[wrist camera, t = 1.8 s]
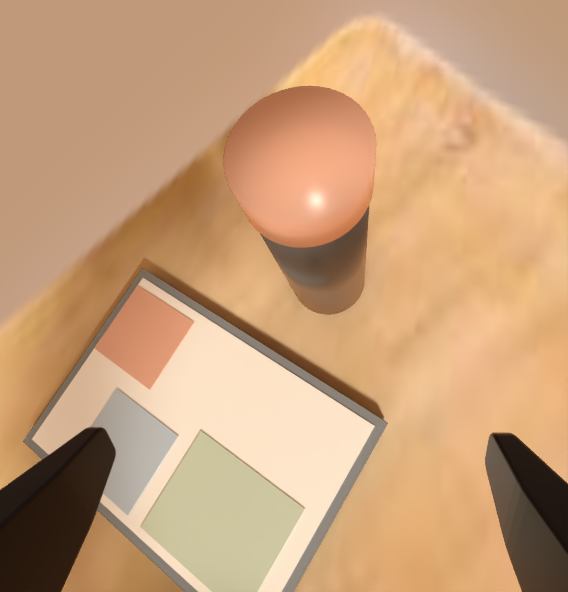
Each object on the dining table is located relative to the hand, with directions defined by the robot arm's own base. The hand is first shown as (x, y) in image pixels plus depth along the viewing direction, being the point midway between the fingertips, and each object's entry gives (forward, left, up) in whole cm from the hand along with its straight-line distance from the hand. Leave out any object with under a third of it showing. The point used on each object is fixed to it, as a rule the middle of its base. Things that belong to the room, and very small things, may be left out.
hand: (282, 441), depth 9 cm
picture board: (+6, +5, -13) cm, 16 cm away
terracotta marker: (+4, -7, -13) cm, 16 cm away
